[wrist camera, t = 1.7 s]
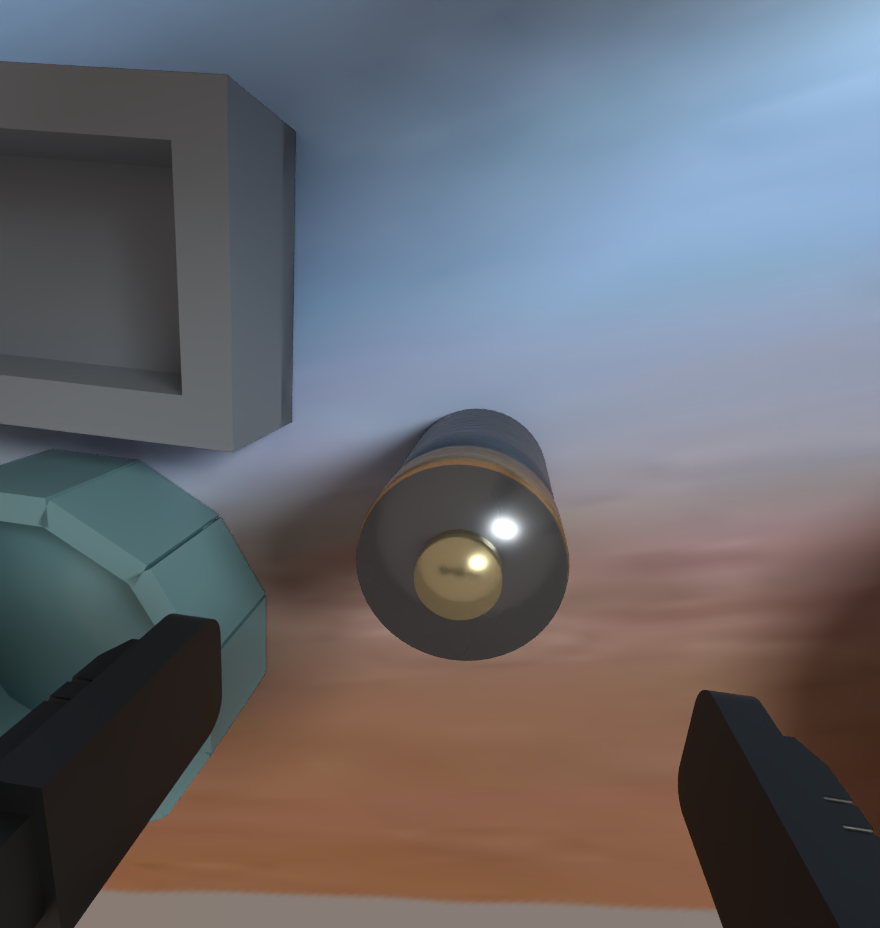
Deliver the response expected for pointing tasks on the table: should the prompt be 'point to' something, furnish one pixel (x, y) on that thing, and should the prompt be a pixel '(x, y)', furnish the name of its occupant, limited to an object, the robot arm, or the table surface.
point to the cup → (115, 580)
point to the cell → (466, 541)
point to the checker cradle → (144, 256)
